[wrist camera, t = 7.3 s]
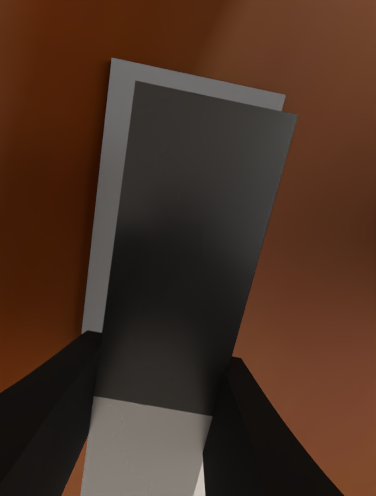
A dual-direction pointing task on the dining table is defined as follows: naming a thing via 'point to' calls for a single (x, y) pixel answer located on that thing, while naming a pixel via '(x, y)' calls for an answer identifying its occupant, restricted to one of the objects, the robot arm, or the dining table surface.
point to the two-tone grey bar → (178, 282)
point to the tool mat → (114, 160)
